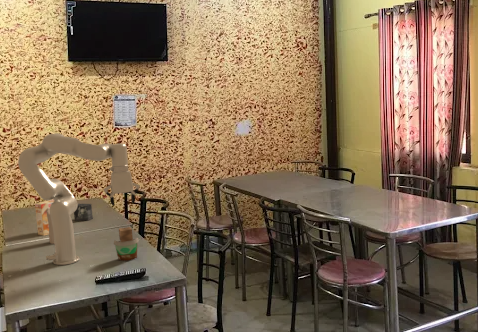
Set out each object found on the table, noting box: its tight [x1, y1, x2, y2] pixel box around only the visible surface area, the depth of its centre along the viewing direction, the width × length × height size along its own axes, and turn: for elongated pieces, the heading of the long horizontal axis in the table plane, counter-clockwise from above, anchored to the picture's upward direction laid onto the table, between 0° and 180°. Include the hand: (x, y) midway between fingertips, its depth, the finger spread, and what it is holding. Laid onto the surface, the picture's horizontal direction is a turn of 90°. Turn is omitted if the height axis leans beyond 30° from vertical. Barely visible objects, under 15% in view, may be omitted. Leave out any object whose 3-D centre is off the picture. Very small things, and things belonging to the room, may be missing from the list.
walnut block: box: [118, 226, 134, 242], centre depth 263 cm, size 6×6×6 cm
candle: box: [47, 208, 55, 245], centre depth 303 cm, size 7×14×20 cm, turn 59°
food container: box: [113, 237, 140, 262], centre depth 264 cm, size 12×6×10 cm, turn 105°
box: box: [73, 203, 94, 222], centre depth 360 cm, size 11×7×10 cm, turn 73°
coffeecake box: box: [34, 199, 54, 237], centre depth 328 cm, size 15×7×20 cm, turn 143°
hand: (123, 203), depth 261 cm, fingers open, 9 cm apart
